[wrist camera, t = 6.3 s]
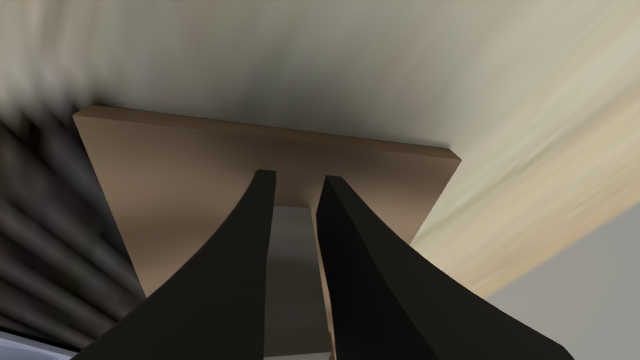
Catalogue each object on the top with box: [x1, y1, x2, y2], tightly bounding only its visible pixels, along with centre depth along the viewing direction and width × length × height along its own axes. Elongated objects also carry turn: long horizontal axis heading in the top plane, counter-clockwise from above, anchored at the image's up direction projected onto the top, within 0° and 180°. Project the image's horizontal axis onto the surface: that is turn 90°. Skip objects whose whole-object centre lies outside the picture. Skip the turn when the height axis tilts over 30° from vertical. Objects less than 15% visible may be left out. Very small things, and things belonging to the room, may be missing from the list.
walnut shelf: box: [72, 105, 462, 360], centre depth 15 cm, size 28×15×7 cm, turn 169°
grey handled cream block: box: [264, 206, 332, 360], centre depth 13 cm, size 14×6×6 cm, turn 169°
